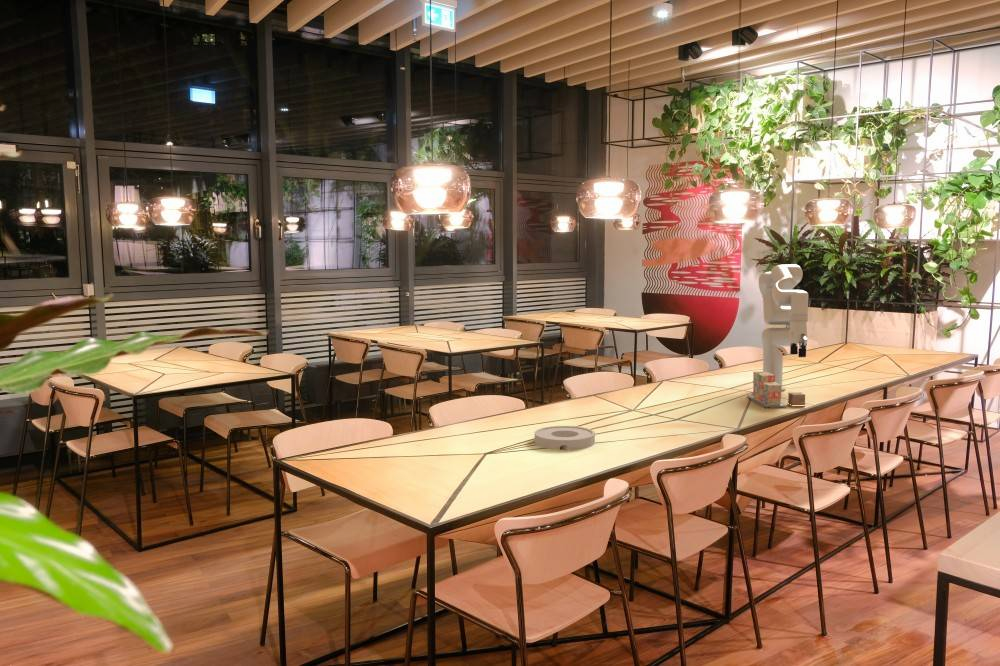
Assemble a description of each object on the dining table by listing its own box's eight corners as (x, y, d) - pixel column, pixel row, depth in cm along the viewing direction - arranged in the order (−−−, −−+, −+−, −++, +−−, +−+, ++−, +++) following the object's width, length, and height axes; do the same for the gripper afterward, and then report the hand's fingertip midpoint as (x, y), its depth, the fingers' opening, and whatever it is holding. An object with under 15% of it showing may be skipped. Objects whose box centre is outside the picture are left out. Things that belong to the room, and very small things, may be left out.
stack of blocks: (781, 405, 352) (781, 378, 351) (767, 405, 352) (767, 378, 351) (765, 396, 373) (766, 370, 372) (752, 396, 373) (753, 371, 372)
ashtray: (566, 432, 312) (566, 423, 312) (607, 443, 294) (607, 433, 293) (522, 442, 298) (522, 431, 298) (562, 454, 280) (562, 443, 279)
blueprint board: (747, 397, 376) (747, 395, 376) (767, 397, 376) (767, 395, 376) (764, 408, 351) (764, 405, 351) (786, 407, 351) (786, 405, 351)
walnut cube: (788, 404, 359) (788, 392, 359) (800, 404, 359) (800, 392, 359) (792, 406, 354) (793, 394, 353) (804, 406, 354) (805, 394, 353)
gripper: (783, 316, 361) (782, 353, 362) (798, 320, 343) (797, 358, 345) (799, 316, 361) (798, 353, 362) (814, 319, 343) (813, 358, 345)
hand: (797, 355), depth 354 cm, fingers open, 9 cm apart
